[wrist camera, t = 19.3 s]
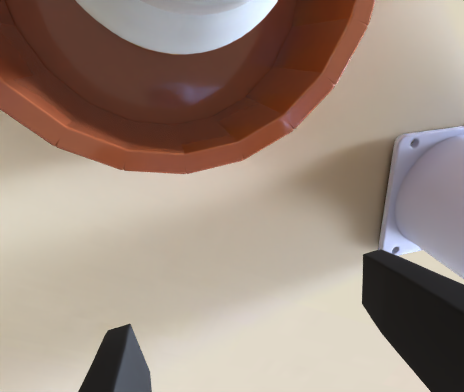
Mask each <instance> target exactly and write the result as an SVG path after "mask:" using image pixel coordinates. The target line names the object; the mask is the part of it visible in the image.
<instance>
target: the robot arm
mask: <svg viewBox="0 0 464 392" xmlns="http://www.w3.org/2000/svg"><path fill="white" fill-rule="evenodd" d="M412 140H413V143H412V144H411V141H412ZM410 144H411V145H410ZM420 250H424V251H425V252H427V253H428V254H429V255H431V256H432V257H434V258H435V259H436V260H438V261H439V262H441V263H442V264H443V265H445V266H446V267H447V268H449V269H450V270H452V271H453V272H454V273H456V274H457V275H459V276H460V277H461V278H463V279H464V126H459V127H451V128H444V129H436V130H429V131H422V132H414V133H407V134H402V135H400V136H399V137H397V139H396V140H395V143H394V149H393V155H392V162H391V168H390V175H389V181H388V188H387V194H386V201H385V207H384V214H383V220H382V227H381V233H380V240H379V246H378V250H376V251H373V252H370V253H366V254H363V286H362V304H363V306H364V307H365V309H366V310H367V312H368V314H369V315H370V317H371V318H372V320H373V321H374V323H375V324H376V326H377V327H378V329H379V330H380V332H381V333H382V334H383V335H384V337H385V338H386V339H387V340H388V342H389V343H390V344H391V345H392V346H393V347H394V349H395V350H396V351H397V352H398V353H399V355H400V356H401V357H402V358H403V359H404V361H405V362H406V363H407V364H408V365H409V366H410V368H411V369H412V370H413V371H414V372H415V374H416V375H417V376H418V377H419V378H420V379H421V381H422V382H423V383H424V384H425V385H426V386H427V388H428V389H429V390H430V391H431V392H464V285H463V284H461V283H459V282H456V281H454V280H452V279H449V278H447V277H445V276H442V275H440V274H438V273H435V272H433V271H431V270H428V269H426V268H424V267H422V266H419V265H417V264H415V263H413V262H410V261H408V260H406V259H404V258H401V257H399V256H397V255H402V254H406V253H411V252H416V251H420ZM78 392H152V390H151V379H150V371H149V368H148V366H147V364H146V361H145V359H144V356H143V354H142V351H141V349H140V346H139V344H138V342H137V339H136V337H135V334H134V332H133V329H132V327H131V324H128V325H124V326H121V327H118V328H114V329H111V330H108V331H107V333H106V334H105V336H104V338H103V341H102V343H101V345H100V347H99V349H98V352H97V354H96V356H95V358H94V360H93V363H92V365H91V367H90V369H89V371H88V373H87V375H86V377H85V379H84V381H83V383H82V385H81V387H80V389H79V391H78Z"/></svg>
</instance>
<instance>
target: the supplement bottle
mask: <svg viewBox="0 0 464 392" xmlns="http://www.w3.org/2000/svg"><path fill="white" fill-rule="evenodd" d="M75 1H76V2H77V3H78V4H79V5H80V6H81V7H82V8H83V9H84V10H85V11H86V12H87V13H89V14H90V15H91V16H92V17H93V18H94V19H95V20H97V21H98V22H99V23H101V24H102V25H103V26H105V27H106V28H107V29H109V30H110V31H112V32H113V33H115V34H116V35H118V36H120V37H121V38H123V39H125V40H127V41H128V42H130V43H132V44H134V45H137V46H139V47H141V48H145V49H148V50H153V51H157V52H162V53H168V54H172V55H173V54H174V55H179V54H194V53H202V52H207V51H211V50H215V49H218V48H220V47H223V46H225V45H228V44H230V43H232V42H233V41H235V40H237V39H239V38H241V37H242V36H244V35H245V34H246V33H248V32H249V31H251V30H252V29H253V28H254V27H255V26H256V25H257V24H258V23H260V22H261V21H262V20H263V19H264V18H265V17H266V15H267V14H268V13H269V12H270V11H271V9H272V8H273V7H274V6H275V4H276V3H277V1H278V0H75Z"/></svg>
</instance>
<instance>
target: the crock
mask: <svg viewBox="0 0 464 392" xmlns="http://www.w3.org/2000/svg"><path fill="white" fill-rule="evenodd" d="M374 4H375V0H278V1H277V3H276V4H275V6H274V7H273V8H272V9H271V11H270V12H269V13H268V14H267V15H266V17H265V18H264V19H263V20H262V21H261V22H260V23H258V24H257V25H256V26H255V27H254V28H253V29H252V30H251V31H249V32H248V33H246V34H245V35H244V36H242V37H241V38H239V39H237V40H235V41H233V42H232V43H230V44H228V45H225V46H223V47H220V48H218V49H215V50H211V51H207V52H202V53H194V54H179V55H174V54H173V55H172V54H168V53H162V52H157V51H153V50H148V49H145V48H141V47H139V46H137V45H134V44H132V43H130V42H128V41H127V40H125V39H123V38H121V37H120V36H118V35H116V34H115V33H113V32H112V31H110V30H109V29H107V28H106V27H105V26H103V25H102V24H101V23H99V22H98V21H97V20H95V19H94V18H93V17H92V16H91V15H90V14H89V13H87V12H86V11H85V10H84V9H83V8H82V7H81V6H80V5H79V4H78V3H77V2H76V1H75V0H0V110H2V111H3V112H5V113H6V114H8V115H9V116H10V117H12V118H13V119H15V120H16V121H18V122H19V123H21V124H22V125H24V126H25V127H27V128H28V129H30V130H31V131H33V132H34V133H35V134H37V135H38V136H40V137H41V138H43V139H44V140H46V141H47V142H49V143H50V144H52V145H53V146H56V147H57V148H60V149H63V150H66V151H68V152H71V153H74V154H77V155H80V156H83V157H86V158H88V159H91V160H94V161H97V162H100V163H103V164H106V165H108V166H111V167H114V168H117V169H120V170H123V169H124V170H125V171H139V172H156V173H174V174H186V173H187V174H189V173H194V172H198V171H202V170H206V169H210V168H214V167H218V166H222V165H226V164H231V163H235V162H239V161H242V160H243V159H246V158H248V157H250V156H252V155H253V154H255V153H257V152H258V151H260V150H262V149H263V148H265V147H267V146H268V145H270V144H272V143H274V142H275V141H277V140H279V139H280V138H282V137H284V136H285V135H287V134H289V133H290V132H292V131H293V129H295V128H296V127H297V126H298V125H299V124H300V123H301V122H302V121H303V120H304V119H305V118H306V117H307V116H308V115H309V114H310V113H311V111H312V110H313V109H314V108H315V107H316V106H317V105H318V104H319V103H320V102H321V101H322V100H323V99H324V98H325V97H326V96H327V95H328V93H329V92H330V91H331V90H332V89H333V88H334V87H335V85H336V84H337V83H338V81H339V79H340V77H341V75H342V74H343V72H344V70H345V68H346V66H347V64H348V62H349V61H350V59H351V57H352V55H353V53H354V51H355V50H356V48H357V46H358V44H359V42H360V40H361V39H362V37H363V35H364V33H365V31H366V29H367V25H368V24H369V22H370V19H371V15H372V11H373V7H374Z"/></svg>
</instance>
